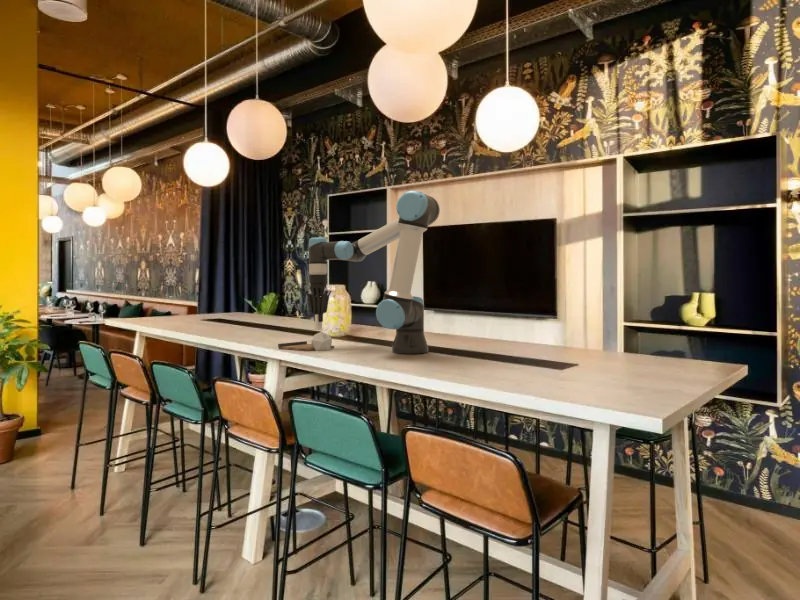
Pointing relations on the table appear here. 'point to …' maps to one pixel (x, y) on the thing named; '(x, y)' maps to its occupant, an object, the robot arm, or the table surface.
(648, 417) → the table surface
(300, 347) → the board
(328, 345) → the die
